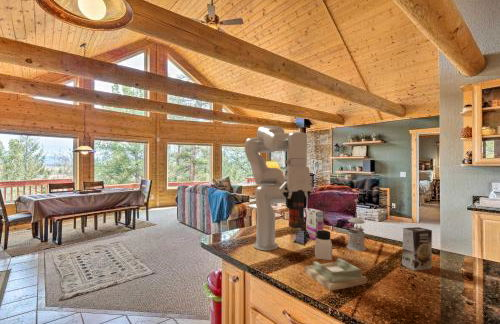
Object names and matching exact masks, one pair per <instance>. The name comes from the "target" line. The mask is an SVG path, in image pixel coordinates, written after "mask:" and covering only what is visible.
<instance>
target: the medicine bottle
mask: <svg viewBox="0 0 500 324" xmlns="http://www.w3.org/2000/svg"><path fill="white" fill-rule="evenodd" d="M314 255H315V259H316V260H324V261H333V244H332V240H331V232H330V231H329V230H327V229H326V230H324V229H323V230H319V231H317V239H315V240H314Z"/></svg>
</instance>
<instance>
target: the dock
mask: <svg viewBox="0 0 500 324" xmlns="http://www.w3.org/2000/svg"><path fill="white" fill-rule="evenodd" d="M303 270H304V272H305V274H307V275H309V277H311V278H312V279H314V280H315V281H316V282H318V283H319V284H321V285H322V286H323V287H324V288H325V289H326V290H328V291H330V292H331V291H335V290H340V289H341V290H342V289H346V288H351V287H356V286H361V285H362V286H363V285H367V284H368V278H367V277H366V276H364V275H362V269H361V268H359V267H357V266H355V265H353V264H352V263H350V262H348V261H346V260H344V259H342V258H341V257H337V258H336V261H333V262H327V263H326V262H325V263H320V262H318V261H316V260H315V261H313V263H312V265H305V266H304V268H303ZM366 283H367V284H366Z"/></svg>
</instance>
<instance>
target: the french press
mask: <svg viewBox="0 0 500 324" xmlns="http://www.w3.org/2000/svg"><path fill="white" fill-rule="evenodd" d="M354 202H356V203H355V204H356V205H355V207H356V209H355V210H356V211H355V212H356V213H355V217H352V218H348V219H347V222H349V223H351V224H355V226H349V227H348V229H349V230H348V231H347V234H348V235H347V237H348V239H347V245H345V247H346V249H349V250H351V251H358V252H361V251H362V252H364V251H366V250H367V247H366V246H365V228H363V227H362V226H361V224H362V225H363V224H364V223H366V222H365V220H363V219H362V218H358V215H357V213H358V202H359V199H354ZM357 224H360V226H359V225H357Z"/></svg>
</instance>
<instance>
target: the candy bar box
mask: <svg viewBox="0 0 500 324" xmlns="http://www.w3.org/2000/svg"><path fill="white" fill-rule="evenodd" d="M324 213H325V212H324V211H323V210H319V209H315V208H306V222H305V223H306V225H305V226H306V230H307V232H308V234H309V237H310V238H309V237H308V238H309V239H311V240H313V241H315V239H317V231H319V230H324V221H325V220H324V216H325V215H324ZM306 230H305V231H306Z"/></svg>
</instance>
